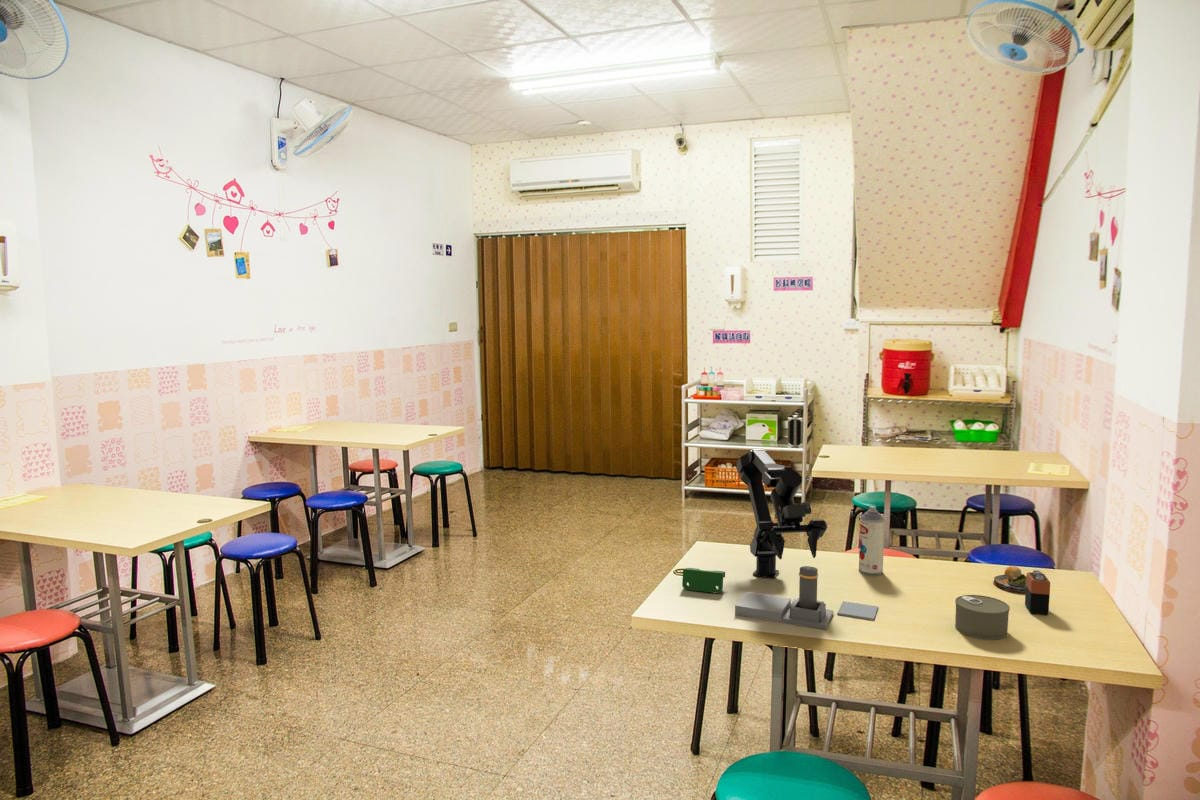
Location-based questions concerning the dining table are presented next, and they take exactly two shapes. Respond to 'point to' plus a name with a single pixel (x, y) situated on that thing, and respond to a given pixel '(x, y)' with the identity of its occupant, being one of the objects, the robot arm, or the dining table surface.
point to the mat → (857, 610)
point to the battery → (1037, 593)
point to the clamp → (703, 580)
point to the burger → (1011, 580)
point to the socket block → (782, 610)
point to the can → (981, 617)
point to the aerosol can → (871, 542)
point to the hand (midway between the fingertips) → (797, 558)
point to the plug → (808, 587)
